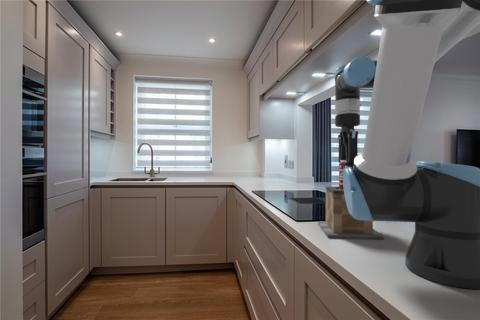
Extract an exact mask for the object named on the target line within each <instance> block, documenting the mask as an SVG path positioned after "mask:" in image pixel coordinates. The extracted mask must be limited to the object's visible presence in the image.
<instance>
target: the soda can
mask: <svg viewBox="0 0 480 320" xmlns="http://www.w3.org/2000/svg"><path fill="white" fill-rule="evenodd" d="M345 163H346V160H340V163H339V162H338V187H339V190H344V188H343V171H344V169H345V165H344V164H345ZM346 166H348V165H346Z"/></svg>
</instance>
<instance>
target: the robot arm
mask: <svg viewBox="0 0 480 320" xmlns="http://www.w3.org/2000/svg"><path fill="white" fill-rule="evenodd" d="M365 1H366V3H368V4H370V5H371V6H374V5H375V7H374V8H375V9H374V14H373V17H374V18H375V20H377V22H378V23H379V24H380V25H381V27H382V28H381V33H380V40H379V49H378V55H377V60H373V59H372V58H369V57H367V56H357V57H355V58H353V59H352V60H350V62H349V63H345V64H342V65H339V66H337V68H336V69H335V70H334V71H335V72H334V73H335V75H334V86H335V87H334V88H335V89H334V94H335V95H334V96H335V97H334V98H335V100H334V113H335V114H336V115H335V116H334V117H335V118H334V123H335V124H334V126H335V127H337V128H341V129H340V132H339V134H338V135H337V137H338V139H337V140H338V164H339V163H340V160H346V163H345V164H344V165H345V169H344V171H343V188H344V195H345V200H346V205H347V208H348V211H349V213H350V215H351V216H352V217H353V218H354V219H357V220H365V221H371V222H373V223H374V222H396V223H397V222H398V223H399V222H400V223H401V222H403V223H414V234H412V239H411V241H410V242H409V246H408V248H407V251H406V253H405V266H406V268H408V270H409V271H411V272H412V273H414V274H416V275H418V276H419V277H421V278H424V279H427V280H429V281H433V282H436V283H438V284H442V285H446V286H450V287H451V286H452V287H456V288H464V289H472V290H473V289H474V290H480V168H479V167H477V166H472V165H471V166H470V165H466V164H456V163H448V162H447V163H446V162H439V161H438V162H436V161H424V160H418V161H417V160H416V162H415V161H414V160H412V155H413V152H414V147H415V143H416V139H417V135H418V131H419V125H420V124H421V123H420V122H421V120H422V119H421V118H422V115H423V111H424V107H425V102H426V99H427V94H428V92H429V91H428V90H429V86H430V82H431V79H432V75H433V71H434V66H435V63H436V62H438V61H439V60H440V59H441V58H442V57H443V56H444V55H445V54H447V53H448V52H449V51H450V50H452V48H453V47H455V46H456V45H457V44H458V43H459V42H460V41H462V40H463V39H464V38H465V37H466V36H467V35H468V34H469V33H471V31H472V30H474V29H475V28H476V27H477V26H479V24H480V0H365ZM361 89H372V92H371V93H372V94H371V99H370V106H369V112H368V119H367V124H366V131H365V138H364V145H363V151H362V152H360V153H359V152H358V146H359V145H358V141H359V140H358V137H359V131H357V130H355V127H358V126H360V124H361V114H360V111H361V110H360V109H361V108H360V107H362V103H361ZM346 165H348V166H346Z"/></svg>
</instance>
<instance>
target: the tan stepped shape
mask: <svg viewBox="0 0 480 320" xmlns="http://www.w3.org/2000/svg"><path fill="white" fill-rule="evenodd" d="M373 223H374V221H373V222H371V221H365V220H357V219H354V218H353V217H352V216H351V215H350V213H349V211H348V208H347V205H346V200H345V195H344V190H339V186H325V221H318V222H317V225H318V226H319V228H320V230H321V231H322V232H323V233H324V235H325V236H326V238H327V239H350V240H351V239H353V240H356V239H357V240H359V239H360V240H384V235H383V234H381V233H380V232H378V231H377V230H375V228H373V227H374V224H373Z"/></svg>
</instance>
